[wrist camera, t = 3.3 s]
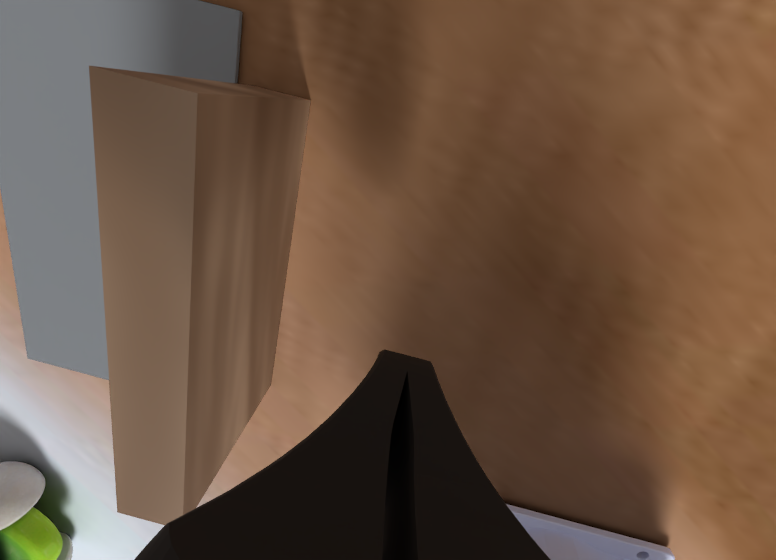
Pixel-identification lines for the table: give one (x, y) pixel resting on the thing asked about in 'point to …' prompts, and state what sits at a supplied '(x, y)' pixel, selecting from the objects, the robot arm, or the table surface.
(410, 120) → the table surface
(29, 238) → the felt mat
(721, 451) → the table surface
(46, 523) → the rainbow petal rattle
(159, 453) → the wooden block
